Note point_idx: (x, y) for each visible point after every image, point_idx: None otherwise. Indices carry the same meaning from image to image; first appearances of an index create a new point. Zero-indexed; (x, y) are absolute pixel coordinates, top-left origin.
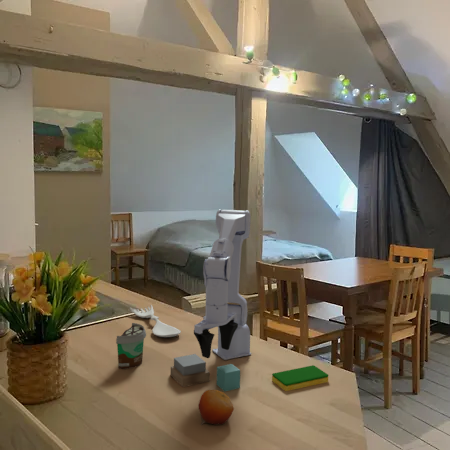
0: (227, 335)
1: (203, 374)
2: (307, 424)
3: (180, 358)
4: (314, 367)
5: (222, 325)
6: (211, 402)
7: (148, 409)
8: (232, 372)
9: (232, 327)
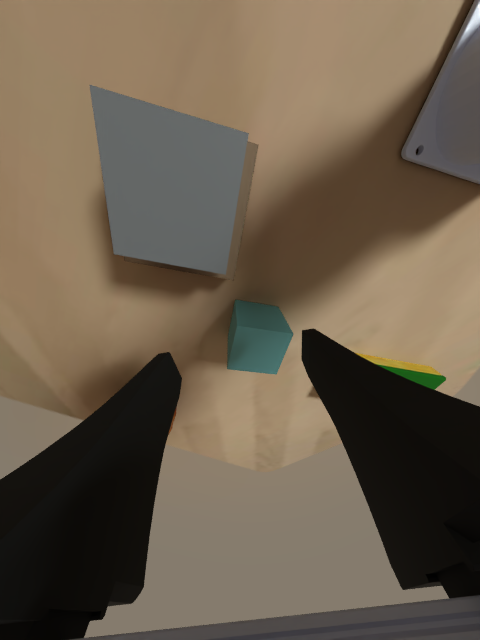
0: (346, 427)
1: (209, 275)
2: (256, 444)
3: (131, 135)
4: (433, 386)
5: (425, 499)
6: None
7: (11, 307)
8: (251, 369)
9: (389, 555)
